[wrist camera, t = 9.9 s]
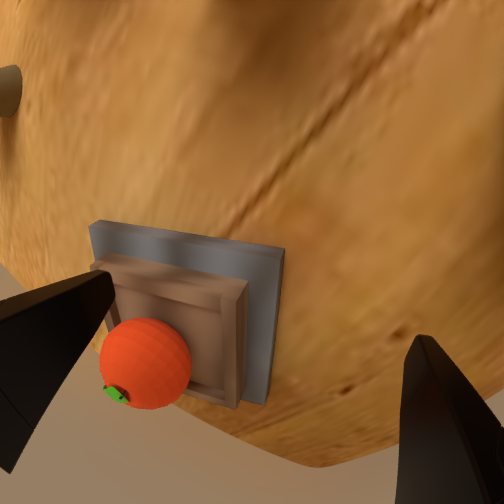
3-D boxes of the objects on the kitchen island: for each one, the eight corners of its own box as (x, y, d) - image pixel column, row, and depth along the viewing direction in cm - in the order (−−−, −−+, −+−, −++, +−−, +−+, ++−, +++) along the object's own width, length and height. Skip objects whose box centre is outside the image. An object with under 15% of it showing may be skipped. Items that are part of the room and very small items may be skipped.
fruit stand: (284, 248, 20) (270, 280, 17) (268, 393, 28) (257, 426, 24) (99, 219, 24) (67, 238, 20) (131, 351, 31) (112, 375, 28)
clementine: (162, 372, 26) (124, 428, 20) (112, 316, 24) (63, 368, 18) (223, 356, 22) (185, 430, 16) (165, 286, 21) (105, 353, 15)
